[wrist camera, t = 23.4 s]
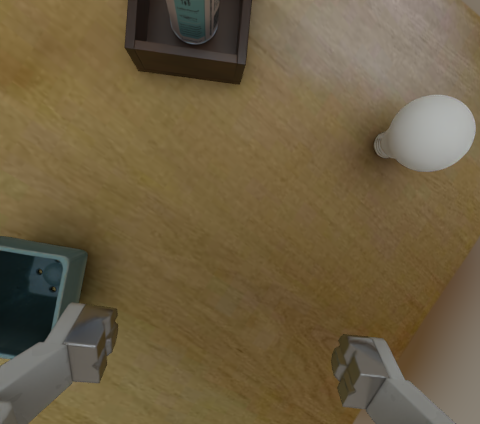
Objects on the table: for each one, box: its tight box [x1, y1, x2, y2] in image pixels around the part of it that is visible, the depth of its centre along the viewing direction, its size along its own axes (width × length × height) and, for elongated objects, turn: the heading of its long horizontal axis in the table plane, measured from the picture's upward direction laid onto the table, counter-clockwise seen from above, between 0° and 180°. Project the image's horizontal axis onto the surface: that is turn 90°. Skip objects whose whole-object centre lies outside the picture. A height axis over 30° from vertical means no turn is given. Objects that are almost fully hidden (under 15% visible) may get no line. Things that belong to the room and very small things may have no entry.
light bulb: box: [373, 95, 476, 172], centre depth 30 cm, size 7×7×11 cm
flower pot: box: [0, 236, 88, 359], centre depth 28 cm, size 9×9×9 cm
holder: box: [125, 0, 252, 84], centre depth 30 cm, size 11×11×5 cm
